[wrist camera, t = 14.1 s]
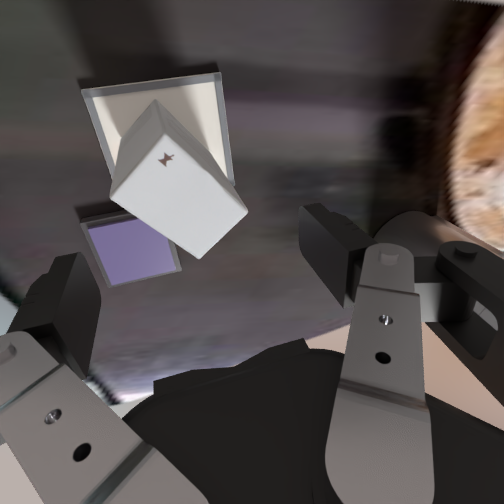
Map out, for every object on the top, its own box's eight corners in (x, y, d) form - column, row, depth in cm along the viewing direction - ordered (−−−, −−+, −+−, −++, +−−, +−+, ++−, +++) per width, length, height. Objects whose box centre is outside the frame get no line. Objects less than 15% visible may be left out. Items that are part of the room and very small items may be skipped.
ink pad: (164, 202, 28) (165, 208, 27) (180, 265, 32) (182, 272, 31) (81, 218, 27) (79, 225, 26) (109, 282, 31) (108, 290, 30)
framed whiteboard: (219, 72, 24) (220, 72, 24) (233, 183, 29) (235, 185, 29) (82, 89, 23) (80, 90, 22) (122, 204, 28) (121, 207, 27)
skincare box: (118, 139, 25) (103, 196, 15) (155, 96, 24) (164, 127, 14) (179, 189, 28) (199, 263, 18) (212, 153, 27) (252, 210, 17)
